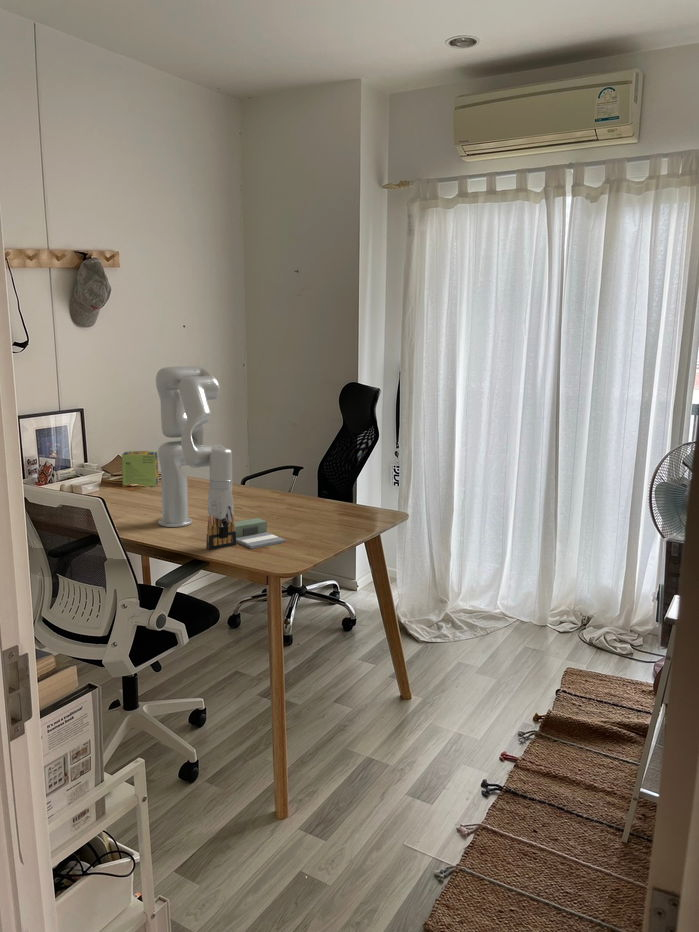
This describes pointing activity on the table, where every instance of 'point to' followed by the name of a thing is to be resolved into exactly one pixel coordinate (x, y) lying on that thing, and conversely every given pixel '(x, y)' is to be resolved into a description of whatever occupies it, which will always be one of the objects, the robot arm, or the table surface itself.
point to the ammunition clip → (213, 534)
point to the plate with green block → (255, 534)
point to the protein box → (140, 468)
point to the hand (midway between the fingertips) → (221, 536)
